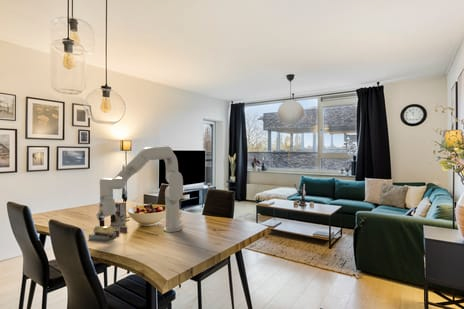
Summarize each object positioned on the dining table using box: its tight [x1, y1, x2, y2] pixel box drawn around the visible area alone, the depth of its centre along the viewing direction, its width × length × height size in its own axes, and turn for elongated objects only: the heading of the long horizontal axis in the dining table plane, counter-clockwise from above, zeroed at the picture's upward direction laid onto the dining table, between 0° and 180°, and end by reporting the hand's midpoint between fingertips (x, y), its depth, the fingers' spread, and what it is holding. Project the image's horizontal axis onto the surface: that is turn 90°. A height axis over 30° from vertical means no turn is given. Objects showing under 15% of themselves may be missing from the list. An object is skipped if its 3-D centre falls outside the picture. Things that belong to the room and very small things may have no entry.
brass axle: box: [93, 225, 116, 236], centre depth 165 cm, size 5×12×5 cm, turn 74°
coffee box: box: [110, 202, 127, 227], centre depth 196 cm, size 9×6×16 cm
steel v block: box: [88, 232, 117, 242], centre depth 165 cm, size 9×13×3 cm
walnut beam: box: [115, 225, 128, 237], centre depth 175 cm, size 9×5×4 cm, turn 165°
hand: (107, 224), depth 164 cm, fingers open, 9 cm apart
